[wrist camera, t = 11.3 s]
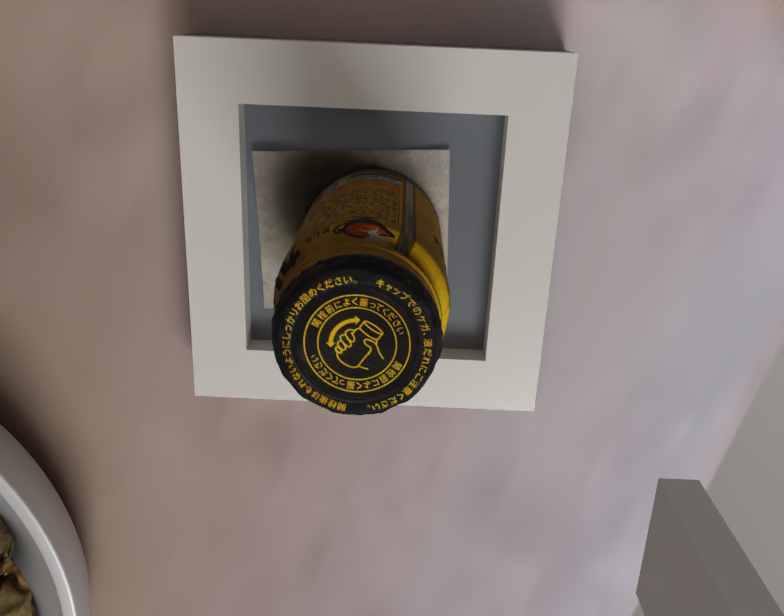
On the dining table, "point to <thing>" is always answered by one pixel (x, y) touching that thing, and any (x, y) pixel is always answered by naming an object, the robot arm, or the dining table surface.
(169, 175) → the dining table surface
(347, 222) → the condiment
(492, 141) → the pocket plate
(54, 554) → the bowl
